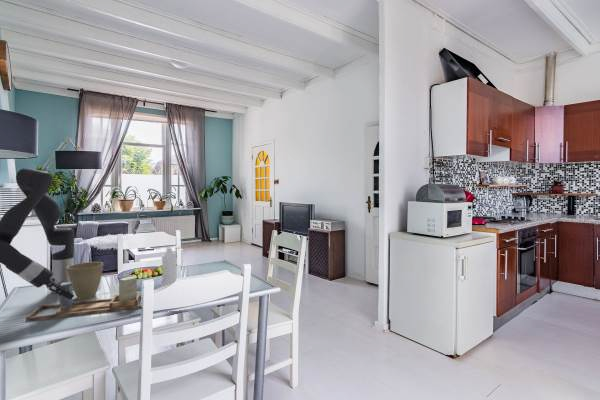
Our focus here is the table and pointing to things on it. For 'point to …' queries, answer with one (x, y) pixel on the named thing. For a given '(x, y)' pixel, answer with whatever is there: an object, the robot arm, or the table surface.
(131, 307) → the brown flat long board
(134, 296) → the skincare box
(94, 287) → the plant pot
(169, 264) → the water bottle
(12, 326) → the table surface
